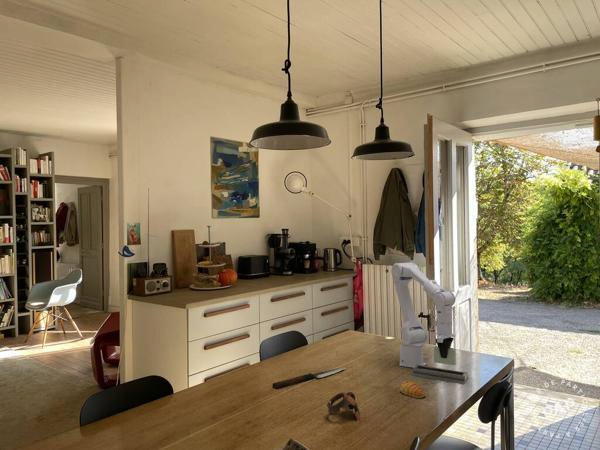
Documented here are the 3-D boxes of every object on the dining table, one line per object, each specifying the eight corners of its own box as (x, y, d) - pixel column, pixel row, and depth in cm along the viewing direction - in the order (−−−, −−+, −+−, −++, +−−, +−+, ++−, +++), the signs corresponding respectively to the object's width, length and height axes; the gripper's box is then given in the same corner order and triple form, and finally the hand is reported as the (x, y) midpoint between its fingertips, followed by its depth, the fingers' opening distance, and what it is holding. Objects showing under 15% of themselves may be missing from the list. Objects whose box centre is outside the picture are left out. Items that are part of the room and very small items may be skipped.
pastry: (430, 397, 160) (430, 386, 160) (416, 401, 157) (416, 390, 157) (411, 388, 168) (411, 378, 168) (397, 392, 165) (397, 382, 165)
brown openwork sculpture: (358, 426, 138) (344, 403, 138) (333, 434, 142) (319, 411, 142) (368, 402, 149) (355, 381, 148) (344, 410, 153) (331, 389, 153)
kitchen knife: (280, 385, 167) (272, 382, 171) (280, 391, 167) (272, 388, 171) (350, 366, 189) (342, 363, 193) (350, 371, 189) (342, 369, 193)
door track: (411, 375, 182) (411, 369, 182) (417, 369, 189) (417, 363, 189) (463, 384, 172) (463, 377, 172) (468, 378, 178) (468, 371, 178)
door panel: (433, 362, 181) (433, 347, 181) (435, 361, 182) (434, 346, 182) (454, 365, 176) (454, 349, 176) (455, 364, 178) (455, 348, 178)
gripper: (450, 327, 171) (450, 363, 171) (459, 319, 183) (459, 353, 183) (431, 325, 175) (431, 360, 175) (441, 318, 187) (441, 351, 187)
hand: (444, 356), depth 179 cm, fingers closed on door panel, 2 cm apart
